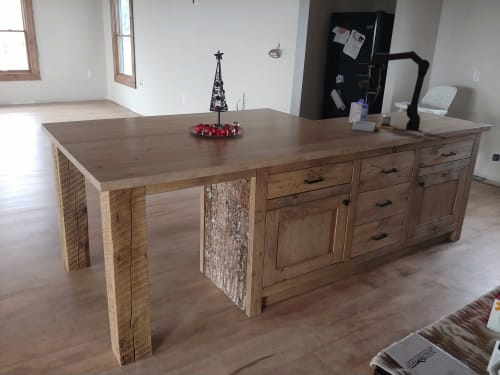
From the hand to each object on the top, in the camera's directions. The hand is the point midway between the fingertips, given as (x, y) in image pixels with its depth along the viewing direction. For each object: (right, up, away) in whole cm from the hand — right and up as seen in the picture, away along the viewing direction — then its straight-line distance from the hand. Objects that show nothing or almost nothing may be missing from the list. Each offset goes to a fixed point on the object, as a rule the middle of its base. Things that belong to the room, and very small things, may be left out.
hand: (371, 103), depth 261 cm
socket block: (+7, -15, -1) cm, 17 cm away
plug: (+8, -14, -1) cm, 16 cm away
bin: (-7, -16, -7) cm, 19 cm away
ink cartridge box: (-6, -10, +12) cm, 17 cm away
